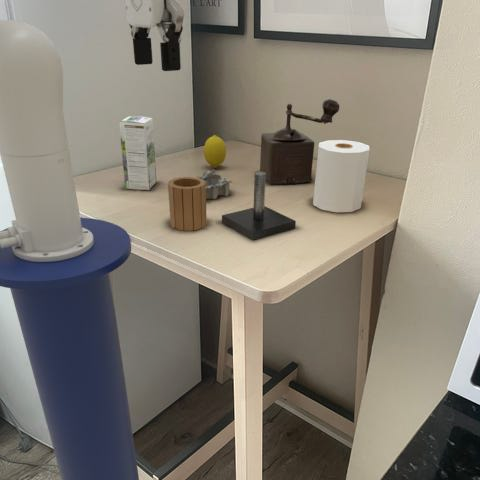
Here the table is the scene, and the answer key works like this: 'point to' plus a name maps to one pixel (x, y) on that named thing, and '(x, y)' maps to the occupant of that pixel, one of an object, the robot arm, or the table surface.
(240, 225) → the stand
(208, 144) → the lemon
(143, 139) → the syrup box
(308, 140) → the manual coffee grinder
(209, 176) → the metal cookie cutter
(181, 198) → the wooden bucket
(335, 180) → the toilet paper
